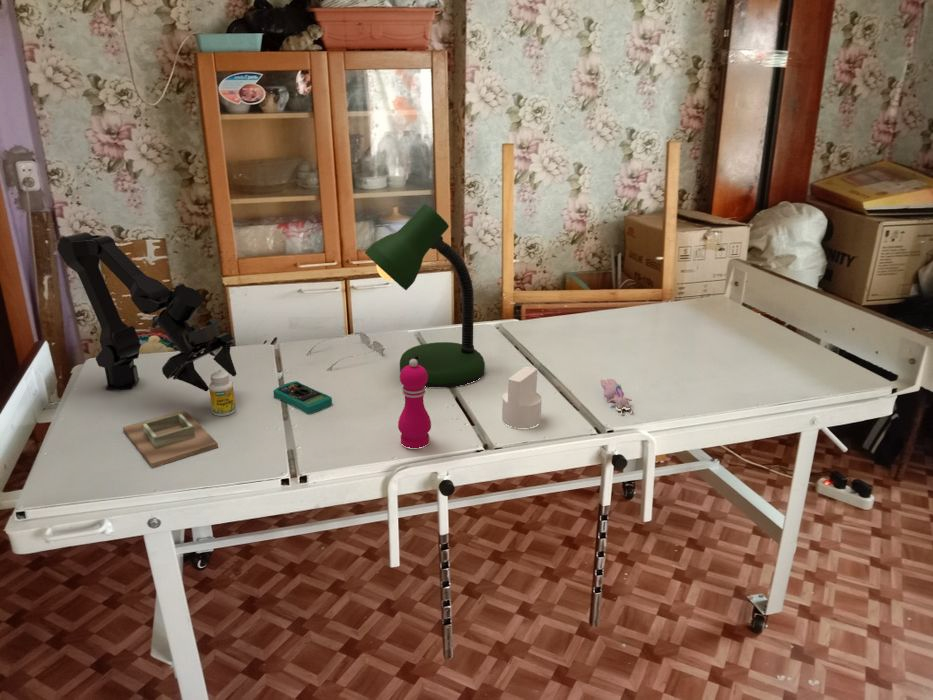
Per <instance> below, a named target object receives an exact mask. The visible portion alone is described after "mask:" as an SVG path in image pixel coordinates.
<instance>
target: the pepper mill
mask: <svg viewBox="0 0 933 700" xmlns="http://www.w3.org/2000/svg"><path fill="white" fill-rule="evenodd" d="M409 364H410V365H408V366H406V367H404V368H403V369H402V371H401V373H400V372H399V381H400V384H401V385H402V387H401V389H402V392H401V393H402V395H403V396H404V406H403V409H402V412H401V414H400V416H399V419H398V422H397V425H398V426H397V428H398V431H399V432H400V433H401V434H400V445H401V444H403V445H404V446H406V447H410V448H419V447H423V446H425V445H427V444H428V443H429V444H430V434H429V433H430V431H431V429H432V420H431V417H430V415H429V413H428V411H427V410H426V407H425V403H424V396H425V395H426V388H427V387H425V384H426V383H427V380H428V374H427V371H426V370H425V369H424V367H422V366H420V365H417V364H418V362H417V360H416V359H411V360H410V362H409ZM429 444H428V445H429ZM428 445H427V446H428Z"/></svg>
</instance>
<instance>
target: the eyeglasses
mask: <svg viewBox="0 0 933 700" xmlns="http://www.w3.org/2000/svg"><path fill="white" fill-rule="evenodd" d="M351 335H359V339H360V342H361V344H363V345H364V344H365V345H364V346H366V347H367V346H368V347H367V348H370V347H369V346H370V343H371V342H372V343H371V346H372V348H373V350H372V351H371V353H373V352H375V351H376V352H375V353H377V352H378V353H379V354H378V353H377V354H378V355H380V354H381V355H382V356H383V354H384V351H385V349H386V347H384V344H382V343H381V342H380V341H378V340H374V339H370V336H369V335H368V334H367V333H365V332H362V331H357V332H353V333H351V334H349V333H348V336H351ZM345 336H347V334H345V335H343V337H345ZM340 337H342V335H341V336H340V335H339V336H336V337H334V339H336V338H340ZM332 339H333V337H331V338H327V339H323V340H321V341H319V342H317V343H316V344H314V345H313V346H312V347H311V348H310V349H309V350H308V351H307V352H306V353H305V354H309V353H310V354H311V352H312V350H313V349H314V348H315V347H316V346H317V345H319V344H320V343H322V342H325V341H329V340H332ZM367 353H370V351H368V352H363V353H360V354H358V356H360V355H365V354H367ZM310 354H309V355H310ZM381 355H380V356H381ZM355 356H357V354H354V355H349V356H348V355H347V356H345V357H342V358H340V359H338V360H336V361H334V362H333V363H332V364H330V366H328V367H327V368H326V369H325V370H326V371H325V372H329V370H330V371H331V370H332V369H333V367H334V366H335V365H337V363H338V362H340V361H342V360H344V359H346V358H353V357H355Z"/></svg>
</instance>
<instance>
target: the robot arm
mask: <svg viewBox="0 0 933 700" xmlns="http://www.w3.org/2000/svg"><path fill="white" fill-rule="evenodd" d="M57 251H58V252H59V254H60V256H61V258H62V260H63V262H64V263H65V265H66V267H67V266H68V268H70V269H72V271H74V272H75V273H77V275H78V278H79V280H80V282H81V284H82V287H83V289H84V292H85V294H86V296H87V298H88V300H89V303H90V305H91V308H92V310H93V311H94V314H95V316H96V319H97V320H98V321H97V322H98V323H99V326H100V329H101V330H100V336H99V344H100V346H101V351H99V353H98V355H97V356H95V361H96V363H97V365H98V367H100V368H103V369H104V372H105V377H106V383H107V385H106V386H105V390H131V389H133V388H134V386H135V385H136V384H137V383H138V381H139V380H140V377H139V374H138V367H137V365H136V364H135V362H134V360H137V359H139V358H140V357H139V355H140V350H141V342H140V341H141V339H140V337H139V336H138V334H137V330H136V328H135V327H134V325H130V326H129V325H128V324H127V323H125V322H124V321H123V320H122V318H121V315H120V313H119V311H118V308H117V307H116V304H115V301H114V300H113V299H114V298H113V296H112V294H111V292H110V290H109V287H108V285H107V283H106V281H105V278H104V276H103V274H102V271H101V269H100V261H101V262H102V263H103V264H104V266H106V267H107V269H109V271H110V272H112V274H113V275H114V276H115V277H117V279H118V280H119V281H120V282H121V283H122V284H123V285H124V286H125V287H126V288H127V289H128V291H129V294H130V299H131V301H132V303H133V304H134V305H135V306H136V308H137V309H138V310H139V312H141V313H142V314H144V315H151V314H154V313H156V312H159V314H157V315H154V316H152V324H151V327H152V329H158V328H160V329H161V330H162V332H163V333H164V334H165V335H166V336H167V337H168V339H169V340H170V343H169V346H170V347H171V349H172V348H173V349H174V348H175V347H176V348H177V350H178V351H179V353H176V354H175V355H173V356H170V357H169V358H168V359H167V361H166V362H165V363H164V364H163V366H162V367H161V372H162V374H163V375H164V377H165V378H166V379H167V380H169V379H171V378H172V379H173V380H174V381H175V380H179V381H182V382H184V383H186V384H189V385H191V386H193V387H196V388H198V389H200V390H202V391H204V392H208V391H210V390H209V386H208V384H207V383H206V381H205V380H204V379H203V377H202V376H201V375H200V374H199V372H198V371H197V370H196V368H195V364H194V362H195V361H197V360H199V359H201V358H204V357H205V356H207V355H210V356H213V359H212V360H213V361H214V362H215V363H216V364H218V365H219V366H221V368H222V369H223V370H225V372H227V373H228V375H231V377H236V376H237V371H236V367H235V365H234V362H233V358H232V355H231V347H232V346H233V342H235V338H234V337H233V336H232V334H231V333H230V332H223V333H221V334H220V333H219V332H221V331H222V329H223V327H222V326H221V324H220V322H219V321H218V319H217V318H212V319H210V320H207V321H206V322H205V326H203V327H201V328H200V327H199V326H198V325H197V324H194V325H191V323H190V322H189V320H191V319H192V317H194V315H195V313H196V312H198V310H199V309H200V308H201V306H202V305H203V302H204V298H203V295H202V293H200V292H199V291H198V290H196V289H194V288H192V287H188V286H186V285H185V284H184V283H181V284H178V285H176V286H174V289H170V288H168V287H167V285H165V284H164V283H162V282H161V281H159V280H158V279H155V278H154V277H150V276H149V275H148V276H147V274H145V273H144V272H143V271H142V270H141V269H140V268H139V266H137V265H136V264H135V262H133V261H132V260H131V258H129V256H127V255H126V254H125V252H123V251H122V250H121V249H120V248H119V246H118V245H117V244H116V242H115V240H114V239H113V238H112V237H111V236H109V235H104V236H103V235H101V234H97V235H95V234H91V233H89V232H88V231H87V232H86V231H85V232H80V233H76V234H72V235H67V236H62V237H61V238H60V239H59V241H58V245H57ZM212 338H213V339H212Z"/></svg>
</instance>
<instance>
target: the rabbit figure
mask: <svg viewBox="0 0 933 700" xmlns="http://www.w3.org/2000/svg"><path fill="white" fill-rule="evenodd" d="M599 382H600V385H601V388H602V389H604V393H603V394H604V395H603V396H604V398H605V399H606V398H607V400H608V399H610V400H608V401H607V404H610V403H611V402H614V403H615V402H616V403H615V406H616V407H617V408H618V409H621V411H623V412H624V410H623V409H622V408H623V407H626V408H630V411H631V410H632V411H633V408H632V405H631V404H630V402H632V398H627V397H624V395H625V393H624V391H623V389H622V385H621V384H618V382H617V381H616V380H615V379H613V378H607V379H606V380H605V379H600V380H599ZM616 407H615V408H616Z"/></svg>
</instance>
